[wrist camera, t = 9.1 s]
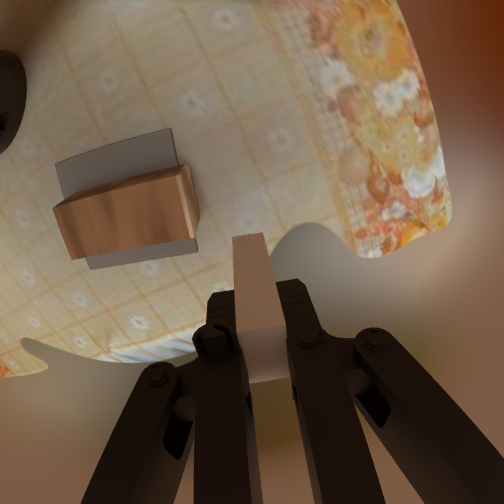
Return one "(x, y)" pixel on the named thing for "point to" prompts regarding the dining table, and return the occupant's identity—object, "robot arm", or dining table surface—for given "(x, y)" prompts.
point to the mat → (117, 168)
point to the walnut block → (129, 213)
